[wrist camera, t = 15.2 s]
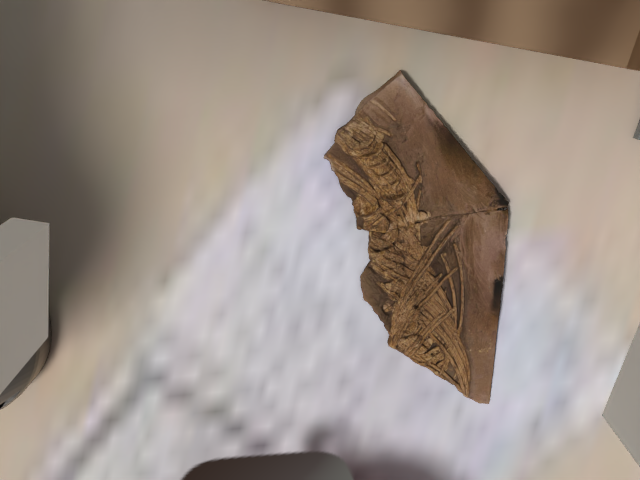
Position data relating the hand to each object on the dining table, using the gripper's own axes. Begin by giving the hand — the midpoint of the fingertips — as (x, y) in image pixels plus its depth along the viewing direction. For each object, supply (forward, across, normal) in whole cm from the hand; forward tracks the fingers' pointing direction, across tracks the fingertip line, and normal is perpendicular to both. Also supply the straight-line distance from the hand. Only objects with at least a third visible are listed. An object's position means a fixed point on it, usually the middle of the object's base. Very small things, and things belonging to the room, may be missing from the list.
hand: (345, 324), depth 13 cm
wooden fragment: (+27, +9, -8) cm, 29 cm away
